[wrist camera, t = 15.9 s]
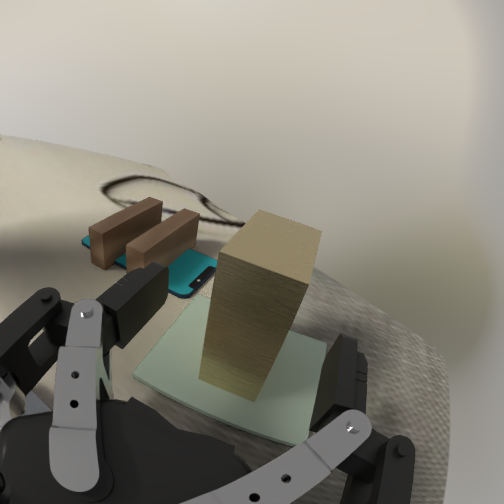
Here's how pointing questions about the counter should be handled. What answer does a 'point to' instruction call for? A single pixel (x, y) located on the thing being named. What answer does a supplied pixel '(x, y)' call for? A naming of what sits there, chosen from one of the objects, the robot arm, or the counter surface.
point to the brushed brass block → (255, 301)
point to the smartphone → (181, 271)
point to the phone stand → (142, 236)
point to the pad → (230, 405)
